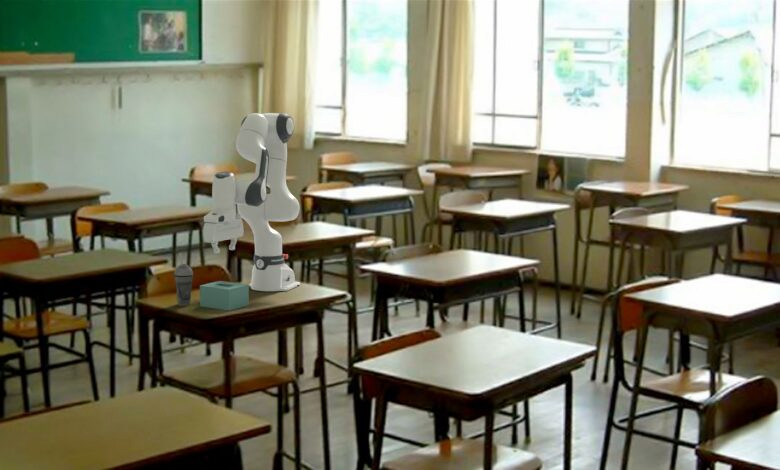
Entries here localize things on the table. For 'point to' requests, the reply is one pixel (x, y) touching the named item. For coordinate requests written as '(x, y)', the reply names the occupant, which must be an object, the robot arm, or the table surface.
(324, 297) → the table surface
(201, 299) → the box
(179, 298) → the beverage cup
